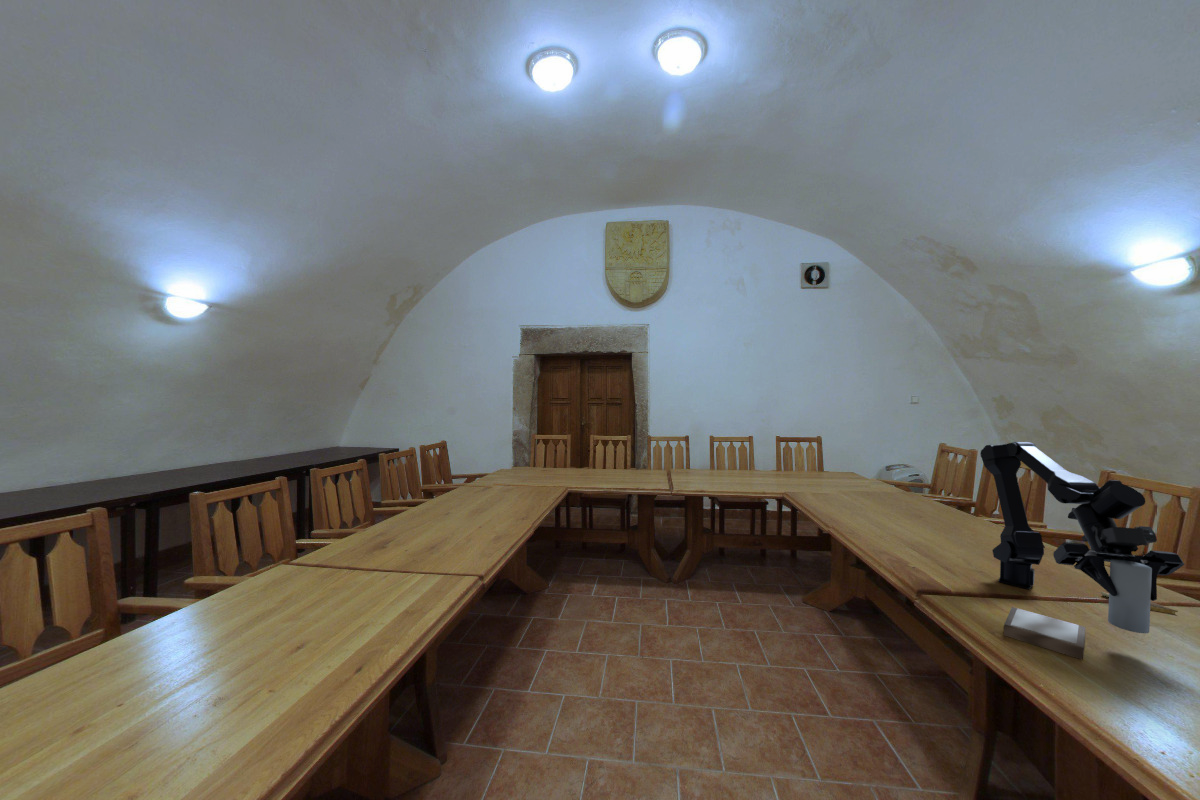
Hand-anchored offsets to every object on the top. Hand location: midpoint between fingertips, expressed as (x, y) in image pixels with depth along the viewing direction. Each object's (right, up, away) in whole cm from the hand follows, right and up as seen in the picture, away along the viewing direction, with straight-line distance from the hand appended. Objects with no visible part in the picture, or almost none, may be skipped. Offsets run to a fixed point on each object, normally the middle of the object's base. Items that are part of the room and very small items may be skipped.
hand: (1134, 597), depth 92 cm
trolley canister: (+1, -7, +1) cm, 7 cm away
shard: (+28, -12, +23) cm, 39 cm away
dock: (-12, -12, +7) cm, 18 cm away
